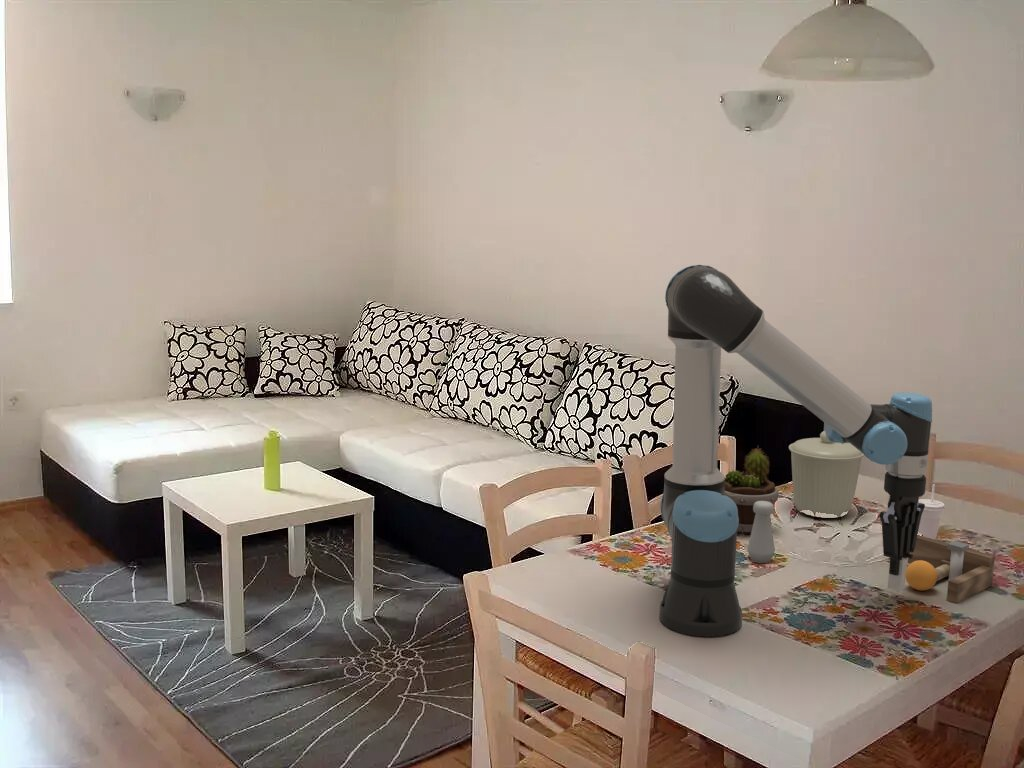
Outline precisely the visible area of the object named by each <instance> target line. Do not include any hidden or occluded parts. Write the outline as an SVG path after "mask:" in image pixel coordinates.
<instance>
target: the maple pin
mask: <svg viewBox="0 0 1024 768" xmlns="http://www.w3.org/2000/svg"><path fill="white" fill-rule="evenodd" d="M935 570H936V573H937V580H936V582H939V581H940V580H942V579H945V578H946V577H947V578H949V570H950V562H949V561H945V560H941V561H940V566H939V567H937V568H935Z"/></svg>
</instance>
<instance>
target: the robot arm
mask: <svg viewBox="0 0 1024 768" xmlns="http://www.w3.org/2000/svg"><path fill="white" fill-rule="evenodd" d="M664 299H665V303H666V304H665V305H666V307H667V312H668V313H667V338H668V339H669V340H670V341H671V342H672V343H673V344H674V346H675V347H674V348H675V350H674V351H675V355H674V358H675V359H674V388H673V389H674V394H673V397H674V398H673V431H672V432H673V435H672V438H673V439H672V465H671V467H670V468H669V469H668V470H667V471H666V472H664V484H663V485H664V486H663V493H662V496H661V499H660V500H661V501H660V514H661V519H662V521H663V523H664V524H665V526H666V528H667V531H668V534H669V536H670V539H671V557H670V558H671V559H670V579H669V582H668V584H667V586H666V589H665V592H664V594H663V595H662V596H663V597H662V599H661V601H660V605H659V617H658V618H659V620H660V621H659V622H661V623H662V624H663V625H664V626H665V627H667V628H668V629H670V630H672V631H675V632H677V633H680V632H681V634H684V635H688V634H689V636H693V637H694V636H695V637H703V636H706V637H707V638H708V636H709V637H710V638H711V636H714V637H722V636H721V635H723V636H727V634H728V635H730V633H731V634H734V633H736V632H738V631H739V630H740V629H741V627H742V625H743V611H742V608H741V606H740V602H739V601H740V600H739V597H738V592H737V589H736V585H735V575H736V574H735V573H736V559H737V557H736V556H737V541H738V535H737V528H738V524H739V517H738V509H737V506H736V504H735V502H734V501H733V500H732V499H731V498H729V497H728V496H725V495H724V489H725V478H726V475H725V474H724V473H722V472H721V470H720V469H719V468H718V457H719V456H718V452H719V451H718V450H719V425H720V424H719V423H720V422H719V421H720V394H721V391H720V390H721V388H720V387H721V367H722V365H721V364H722V363H721V359H722V349H723V350H724V351H725V352H726V353H728V354H735V353H736V354H738V355H739V356H740V357H742V358H743V359H744V360H745V361H746V362H748V363H749V364H751V366H752V367H754V368H756V369H757V370H758V371H760V372H761V373H762V374H763V375H764V376H765V377H767V378H768V379H769V380H770V381H772V382H773V383H774V384H776V385H777V386H778V387H779V388H780V389H782V390H783V391H785V392H786V393H787V394H788V395H789V396H791V397H792V398H793V399H794V400H796V401H797V402H798V403H799V404H801V405H802V406H803V407H804V408H806V409H807V410H808V411H810V412H811V413H812V414H813V415H814V416H815V417H817V418H818V419H819V420H821V421H822V422H823V423H824V431H825V433H826V436H827V438H828V440H829V441H831V442H836V443H842V444H844V443H851V444H852V445H853V446H854V447H856V448H857V449H858V450H859V451H861V452H862V453H863V454H864V457H866V458H867V459H868V460H870V461H871V462H874V463H876V464H879V465H882V466H883V465H885V470H886V472H885V473H884V481H883V482H884V483H883V490H884V492H886V493H887V494H888V495H889V498H888V499H889V500H888V502H887V510H886V511H885V512H884V511H881V512H880V513H879V519H880V523H881V534H882V552H883V556H884V557H887V558H889V564H888V565H889V567H888V578H887V579H888V580H887V589H890V590H892V591H893V590H894V591H897V592H900V593H902V592H903V591H905V586H906V578H905V575H906V569H907V563H908V558H910V559H911V558H912V557H913V555H911V554H910V552H914V549H915V544H916V539H917V534H918V530H919V525H920V520H921V515H922V513H923V510H924V508H925V504H922V503H919V502H918V500H919V498H920V497H922V496H924V495H925V494H926V485H927V477H926V476H925V475H926V474H927V471H928V466H929V464H930V462H929V460H928V458H929V448H930V438H931V431H932V430H931V429H932V422H933V401H932V400H931V398H930V397H929V396H926V394H925V395H924V394H921V393H916V392H915V393H914V392H901V393H900V392H896V393H894V394H892V395H891V397H890V401H889V403H884V404H875V403H874V404H871V403H869V402H867V401H866V400H865V399H864V398H862V397H861V396H860V395H858V393H856V392H855V391H854V390H853V389H851V387H849V386H847V384H845V383H844V382H843V381H841V379H839V378H838V377H836V376H835V374H833V373H832V372H830V370H828V369H827V368H825V367H824V366H823V365H821V364H820V363H819V362H818V361H816V360H815V359H814V358H813V357H812V356H811V355H809V354H808V353H807V352H806V351H804V350H803V349H802V348H800V346H798V345H797V344H795V342H793V341H792V340H791V339H789V338H788V337H787V336H786V335H784V334H783V333H782V332H781V331H780V330H778V329H777V328H776V327H774V326H773V325H772V324H771V323H770V322H768V321H767V320H766V318H765V311H764V310H763V309H761V308H760V307H759V306H758V305H757V304H756V303H754V302H753V301H752V300H751V299H750V298H749V297H748V296H747V295H746V294H745V293H744V292H743V291H742V290H741V289H740V287H738V285H737V284H736V283H735V282H734V281H733V280H732V279H731V278H730V276H728V275H727V274H725V273H724V272H722V271H719V270H718V269H716V268H715V267H712V266H711V265H703V264H696V265H695V264H693V265H689V266H686V267H683V268H682V269H680V270H678V271H677V272H676V273H675V274H674V275H673V276H672V277H671V278H670V280H669V282H668V285H667V286H666V289H665V296H664ZM918 497H919V498H918ZM738 629H739V630H738ZM735 631H736V632H735ZM733 632H734V633H733ZM706 637H705V638H706Z"/></svg>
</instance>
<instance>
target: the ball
mask: <svg viewBox="0 0 1024 768" xmlns="http://www.w3.org/2000/svg"><path fill="white" fill-rule="evenodd" d="M936 580H937V573H936V570H935V568H934V567H933V566H932V565H931V564H930V563H928V562H926V561H922V560H918V561H914V562H912V563H908V566H906V575H905V582H906V583H907V584H908V585H909V586H910V587H911V588H912V589H914V590H917V591H920V592H921V591H927V590H930V589H932V588H933V587H934V585H936V583H937V581H936Z"/></svg>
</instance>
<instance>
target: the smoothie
mask: <svg viewBox="0 0 1024 768" xmlns="http://www.w3.org/2000/svg"><path fill="white" fill-rule="evenodd" d="M935 487H936V484H935V483H933V484H932V486H931V494H930V495H931V497H930V498H920V499H919V500H918V502H919V503H922V504H925V508H924V510H923V513H922V515H921V520H920V525H919V530H918V532H919V533H921V534H923V536H924V537H927V538H931V539H935V540H937V535H938V533H939V527H940V522H941V518H942V513H943V511H944V509H945V503H943V502H942V501H940V500H937V499H935V490H936V489H935Z"/></svg>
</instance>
